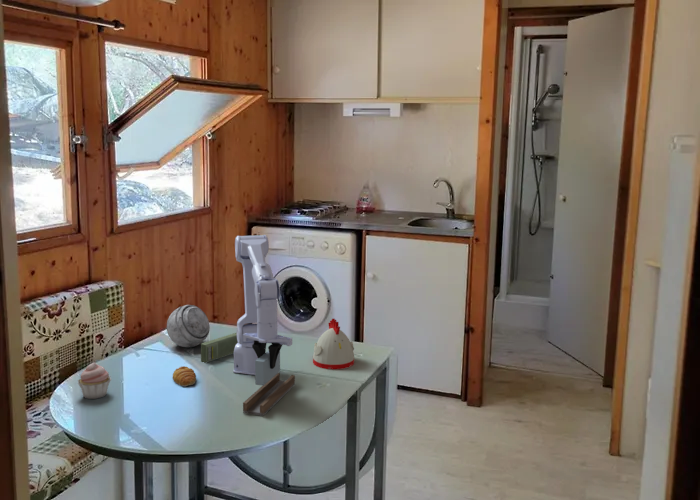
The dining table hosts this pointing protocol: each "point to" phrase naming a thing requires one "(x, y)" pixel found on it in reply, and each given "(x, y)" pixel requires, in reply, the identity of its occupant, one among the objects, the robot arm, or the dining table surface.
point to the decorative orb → (188, 326)
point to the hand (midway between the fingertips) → (267, 366)
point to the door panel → (265, 369)
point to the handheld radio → (218, 347)
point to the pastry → (184, 376)
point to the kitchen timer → (333, 349)
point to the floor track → (268, 395)
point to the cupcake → (94, 381)
